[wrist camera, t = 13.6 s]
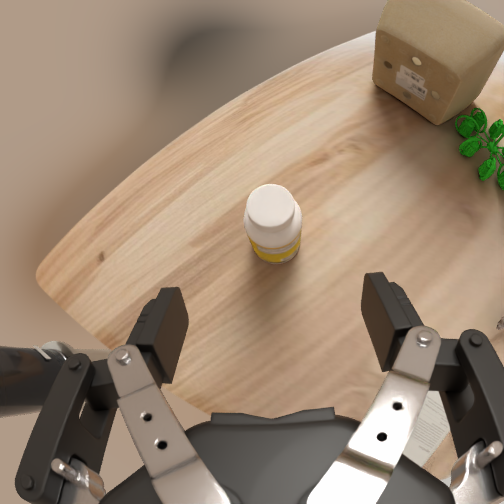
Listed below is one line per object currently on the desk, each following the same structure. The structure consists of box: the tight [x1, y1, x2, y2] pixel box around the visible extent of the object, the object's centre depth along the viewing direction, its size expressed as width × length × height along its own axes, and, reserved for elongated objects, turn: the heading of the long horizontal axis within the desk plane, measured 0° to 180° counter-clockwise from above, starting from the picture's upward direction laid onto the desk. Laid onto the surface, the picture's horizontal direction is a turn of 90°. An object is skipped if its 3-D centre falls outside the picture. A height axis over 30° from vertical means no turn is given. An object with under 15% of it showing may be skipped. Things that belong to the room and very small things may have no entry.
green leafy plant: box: [455, 108, 504, 190], centre depth 30 cm, size 15×15×7 cm
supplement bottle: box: [244, 184, 302, 264], centre depth 28 cm, size 5×5×10 cm
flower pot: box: [372, 0, 504, 125], centre depth 29 cm, size 19×19×17 cm
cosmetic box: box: [402, 391, 450, 467], centre depth 21 cm, size 8×6×15 cm
